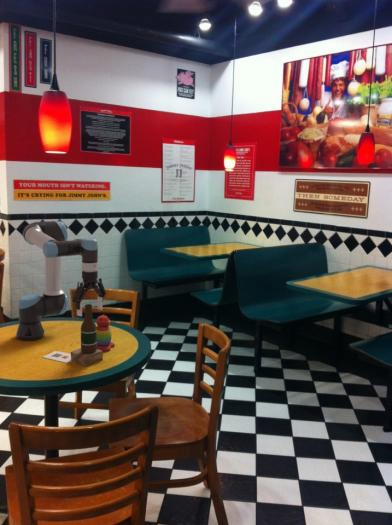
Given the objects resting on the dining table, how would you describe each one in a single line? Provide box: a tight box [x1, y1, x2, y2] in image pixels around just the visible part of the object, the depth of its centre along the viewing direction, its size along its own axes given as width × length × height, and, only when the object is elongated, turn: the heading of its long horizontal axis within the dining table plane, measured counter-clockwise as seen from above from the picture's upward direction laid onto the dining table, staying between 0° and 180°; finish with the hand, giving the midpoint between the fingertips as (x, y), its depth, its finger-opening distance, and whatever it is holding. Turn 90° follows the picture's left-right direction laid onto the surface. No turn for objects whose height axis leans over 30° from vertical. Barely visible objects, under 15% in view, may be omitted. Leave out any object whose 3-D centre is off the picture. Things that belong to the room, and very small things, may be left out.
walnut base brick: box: [70, 347, 104, 367], centre depth 254 cm, size 11×11×5 cm
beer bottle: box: [80, 303, 97, 354], centre depth 251 cm, size 8×8×24 cm
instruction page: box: [42, 350, 72, 364], centre depth 258 cm, size 15×10×1 cm, turn 66°
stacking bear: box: [95, 314, 116, 352], centre depth 271 cm, size 11×10×18 cm
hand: (89, 312), depth 250 cm, fingers open, 13 cm apart
